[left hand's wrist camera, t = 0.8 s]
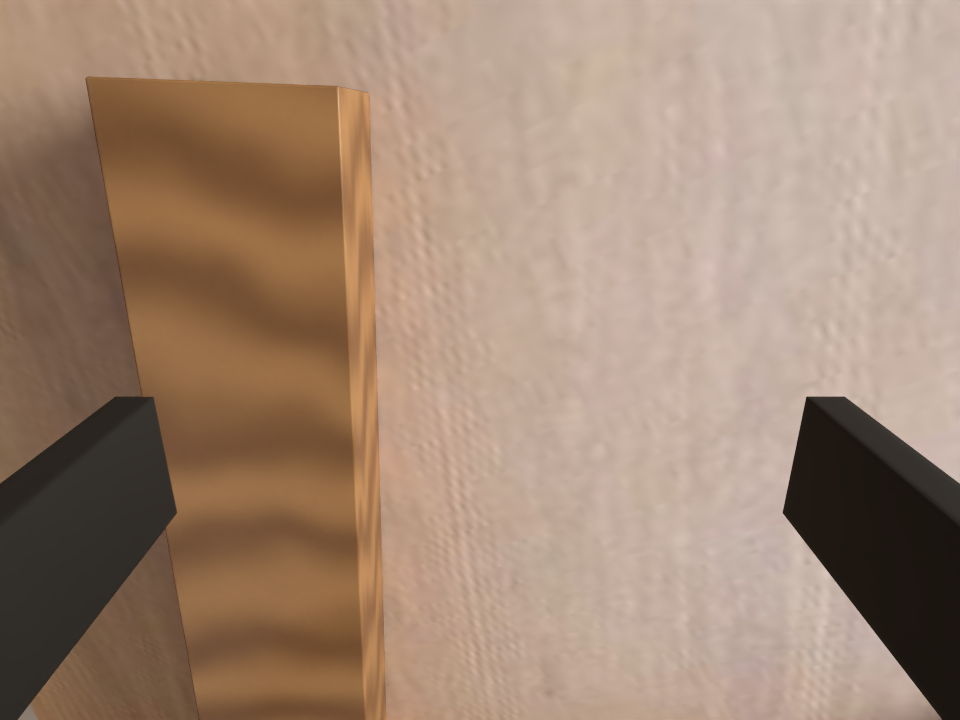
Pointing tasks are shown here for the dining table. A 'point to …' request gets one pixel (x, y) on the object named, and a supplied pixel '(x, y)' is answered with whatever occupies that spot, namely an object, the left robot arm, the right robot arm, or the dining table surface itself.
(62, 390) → the dining table surface
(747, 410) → the dining table surface
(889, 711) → the dining table surface
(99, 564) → the left robot arm
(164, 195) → the slab
